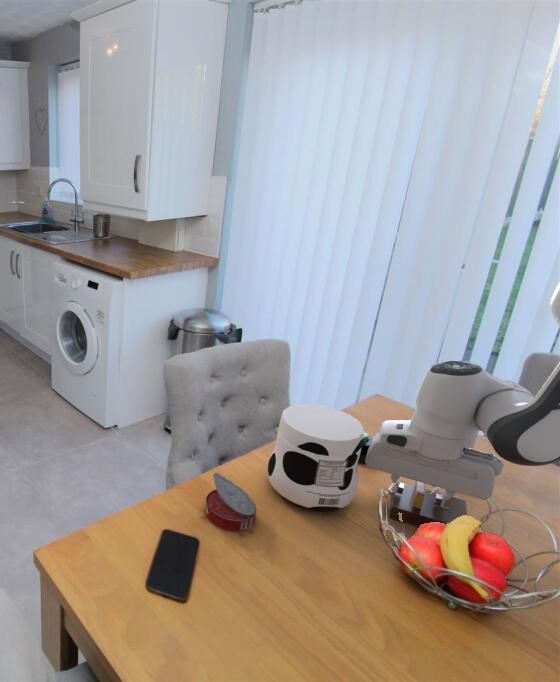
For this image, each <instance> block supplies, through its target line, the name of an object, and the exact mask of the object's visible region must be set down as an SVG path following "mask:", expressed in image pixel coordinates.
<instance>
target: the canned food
mask: <svg viewBox="0 0 560 682" xmlns="http://www.w3.org/2000/svg"><path fill="white" fill-rule="evenodd" d="M213 483H214V487H215V489H214V490H212V491H210V492H209V493H208V494H207V496H206V497H205V508H204V515H205V516H206V519H207V520H208V522H210V523H211V524H212V525H213V526H215V527H216V528H218V529H221V530H222V531H225V532H230V533H244V532H247V531H249V530H251V529H252V528H253V527H254V525H255V523H256V515H257V505H256V503H255V501H254V500H253V498H251V497H250V495H249V494H248V493H247V492H246V491H245V490H244V489H242V488H241V487H240V486H238V485H237V484H235V482H233V481H231V480H230V479H228V478H227V477H226V476H223V475H221V473H219V472H214V474H213Z"/></svg>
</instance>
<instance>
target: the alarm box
mask: <svg viewBox="0 0 560 682" xmlns="http://www.w3.org/2000/svg"><path fill="white" fill-rule="evenodd" d="M373 438H374V437H372V436H371V435H369V434H368V439H367V442H366V443H363V444H362V447H361V453H360V456H359V460H358V464H360V465H365V466H367V464H366V463H365V460H366V456H367V452H368V449H369V446H370V444H371V442H372V440H373Z"/></svg>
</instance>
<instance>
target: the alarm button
mask: <svg viewBox="0 0 560 682" xmlns="http://www.w3.org/2000/svg"><path fill="white" fill-rule="evenodd" d="M368 435H369V433H368V432H366V430H365V431H364V430H363V443H366V442H367V439H368Z"/></svg>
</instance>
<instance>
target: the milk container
mask: <svg viewBox="0 0 560 682" xmlns="http://www.w3.org/2000/svg"><path fill="white" fill-rule="evenodd" d="M363 431H364V426H363V425H362V423H361V422H360V420H359V419H357V418H356V417H354V416H352V415H351V414H349V413H346V412H345V411H343V410H340V409H337V408H335V407H331V406H327V405H321V404H314V403H298V404H295V405H294V404H293V405H290V406H287V407H286V408H285V409H283V411H282V412H281V416H280V419H279V425H278V428H277V434H276V442H275V447H274V449H273V451H272V452H271V454H270V455H269V459H268V463H267V477H268V481H269V483H270V485H271V487H272V489H273V490H274V491H275V492H276V493H277V494H278V495H279V496H280V497H282V498H283V499H285V500H287V501H288V502H290V503H291V504H294V505H297V506H299V507H301V508H304V509H308V510H314V511H318V512H334V511H339V510H340V509H344V508H345V507H347V506H348V505H350V504H351V502H352V501H353V499H354V498H355V496H356V494H357V491H358V487H359V475H358V464H359V463H358V460H359V456H360V453H361V447H362V444H363Z"/></svg>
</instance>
